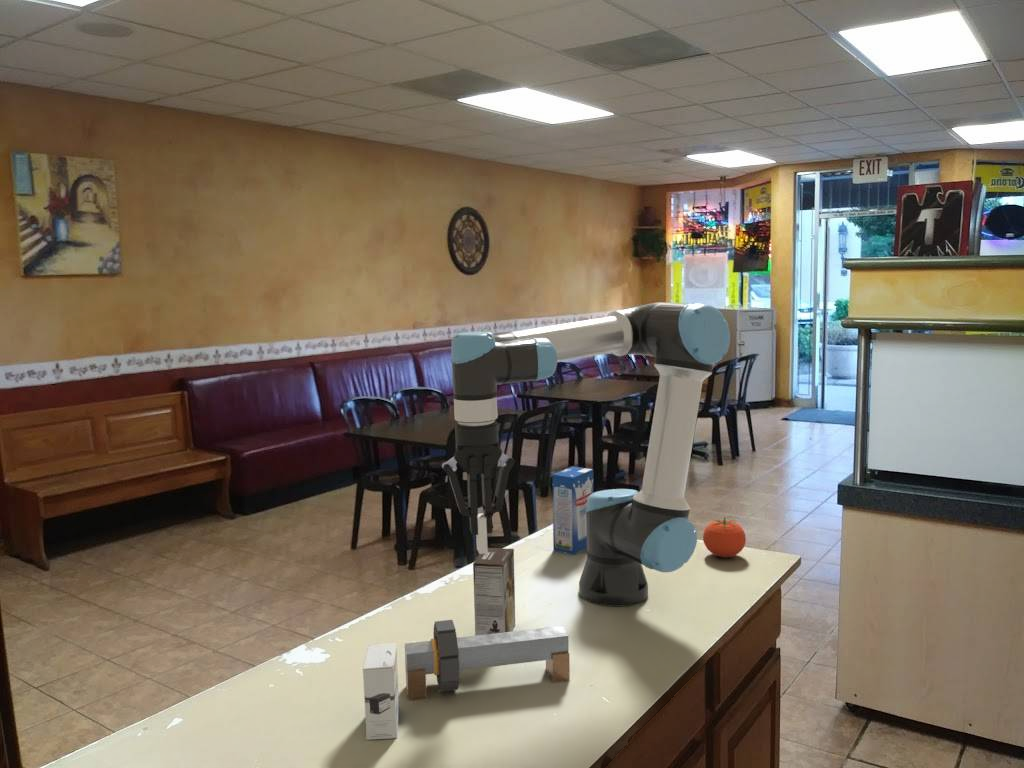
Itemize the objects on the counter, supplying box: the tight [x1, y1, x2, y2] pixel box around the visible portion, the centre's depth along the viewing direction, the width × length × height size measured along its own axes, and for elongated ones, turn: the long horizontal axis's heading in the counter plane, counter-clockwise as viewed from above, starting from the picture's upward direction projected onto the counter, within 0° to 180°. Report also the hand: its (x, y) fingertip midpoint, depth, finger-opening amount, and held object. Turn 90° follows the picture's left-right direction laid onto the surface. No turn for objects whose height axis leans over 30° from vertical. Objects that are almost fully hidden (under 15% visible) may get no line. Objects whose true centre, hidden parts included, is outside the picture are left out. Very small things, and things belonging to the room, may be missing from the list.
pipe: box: [404, 625, 571, 701], centre depth 139 cm, size 28×5×8 cm, turn 102°
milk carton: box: [552, 465, 594, 555], centre depth 206 cm, size 10×6×20 cm, turn 145°
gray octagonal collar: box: [433, 619, 461, 693], centre depth 137 cm, size 3×11×11 cm, turn 12°
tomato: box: [702, 517, 747, 558], centre depth 198 cm, size 10×10×10 cm
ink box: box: [362, 642, 400, 741], centre depth 127 cm, size 8×5×12 cm, turn 5°
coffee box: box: [472, 547, 516, 636], centre depth 158 cm, size 9×6×16 cm
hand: (482, 550), depth 143 cm, fingers closed
